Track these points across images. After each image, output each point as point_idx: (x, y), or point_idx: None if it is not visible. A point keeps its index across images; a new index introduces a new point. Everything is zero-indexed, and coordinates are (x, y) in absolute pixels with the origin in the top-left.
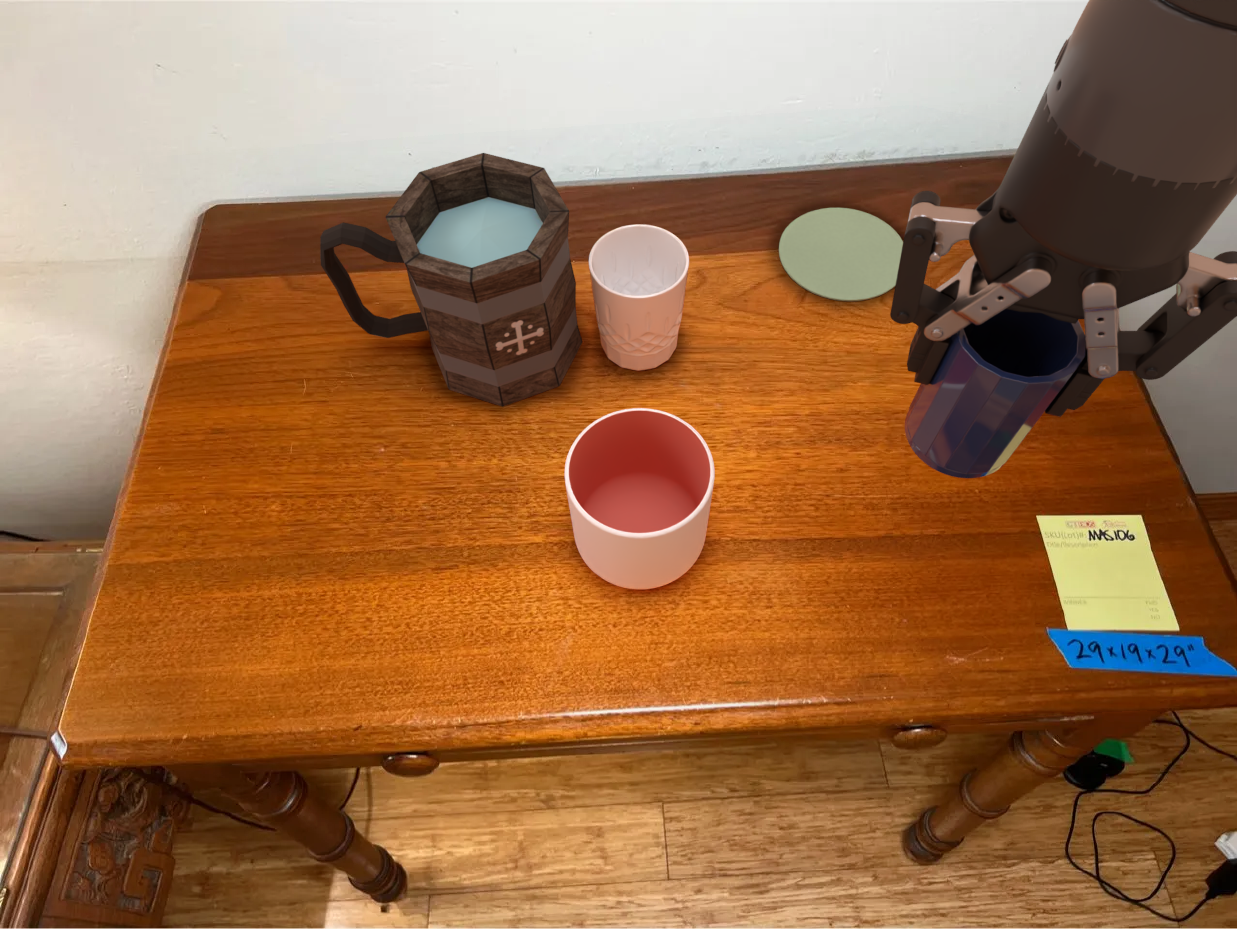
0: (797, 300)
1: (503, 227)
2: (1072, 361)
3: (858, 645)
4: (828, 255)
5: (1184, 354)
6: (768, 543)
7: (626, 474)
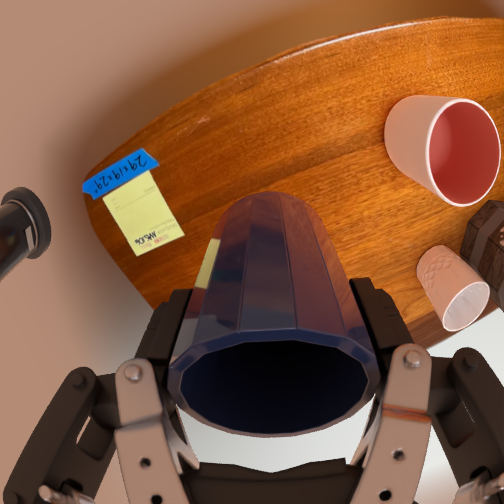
0: None
1: None
2: (179, 380)
3: (265, 102)
4: None
5: (47, 414)
6: (342, 152)
7: (436, 172)
